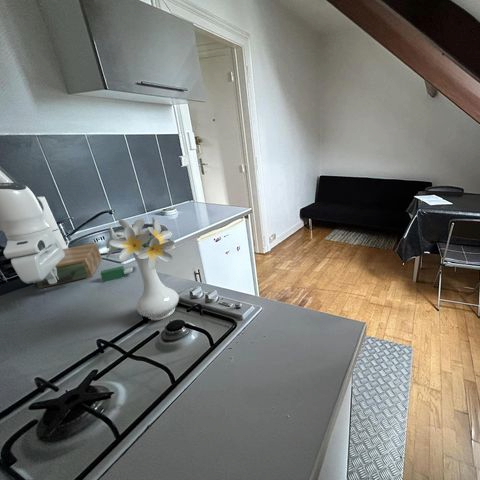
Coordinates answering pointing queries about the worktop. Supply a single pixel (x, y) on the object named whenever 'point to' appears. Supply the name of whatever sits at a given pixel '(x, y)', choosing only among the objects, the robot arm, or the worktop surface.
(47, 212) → the cylindrical container
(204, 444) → the worktop surface
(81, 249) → the cabinet
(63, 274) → the drawer
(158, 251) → the flower vase
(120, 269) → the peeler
